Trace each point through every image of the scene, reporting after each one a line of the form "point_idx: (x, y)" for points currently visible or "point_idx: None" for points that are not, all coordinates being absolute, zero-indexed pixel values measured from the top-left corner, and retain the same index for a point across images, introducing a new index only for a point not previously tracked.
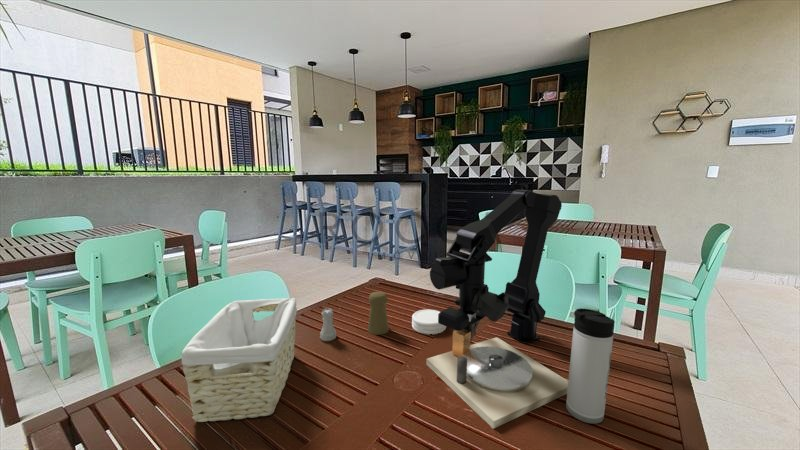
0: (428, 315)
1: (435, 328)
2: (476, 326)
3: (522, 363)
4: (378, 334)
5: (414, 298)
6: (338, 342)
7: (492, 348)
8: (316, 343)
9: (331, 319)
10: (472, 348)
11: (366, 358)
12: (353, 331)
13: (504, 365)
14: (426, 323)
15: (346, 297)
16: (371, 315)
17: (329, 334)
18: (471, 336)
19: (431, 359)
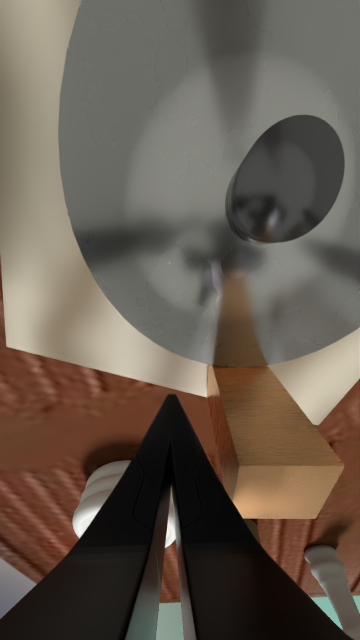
0: None
1: None
2: (139, 476)
3: (133, 37)
4: (251, 521)
5: (58, 554)
6: (323, 537)
7: (129, 300)
8: (346, 549)
9: (358, 630)
10: (161, 367)
11: (351, 490)
12: (271, 543)
13: (245, 147)
14: (169, 519)
15: (173, 596)
16: None
17: (339, 568)
18: (185, 417)
19: (315, 415)
